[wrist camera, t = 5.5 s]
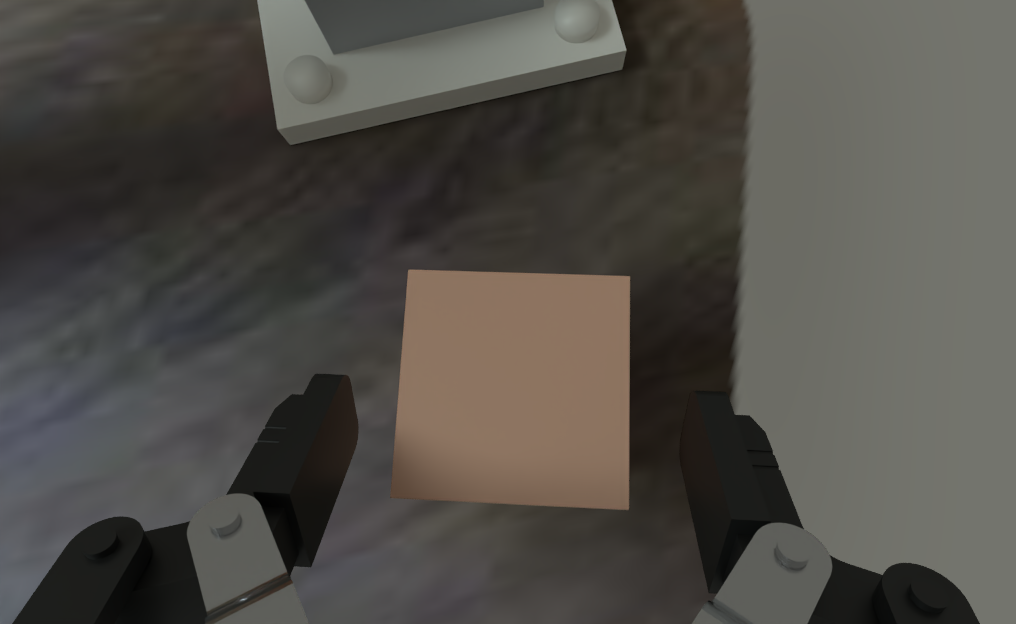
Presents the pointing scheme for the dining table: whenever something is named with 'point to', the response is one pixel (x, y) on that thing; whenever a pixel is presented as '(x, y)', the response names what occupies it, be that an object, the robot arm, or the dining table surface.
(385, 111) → the baseplate
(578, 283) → the tall brick
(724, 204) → the dining table surface
